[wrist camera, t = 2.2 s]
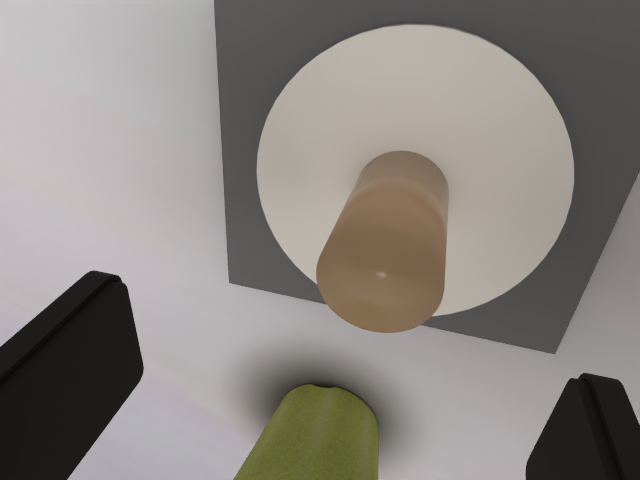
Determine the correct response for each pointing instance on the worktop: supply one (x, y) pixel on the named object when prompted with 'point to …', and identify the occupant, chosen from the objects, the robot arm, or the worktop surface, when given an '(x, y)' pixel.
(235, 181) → the mat
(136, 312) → the worktop surface
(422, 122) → the lid
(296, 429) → the plant pot
